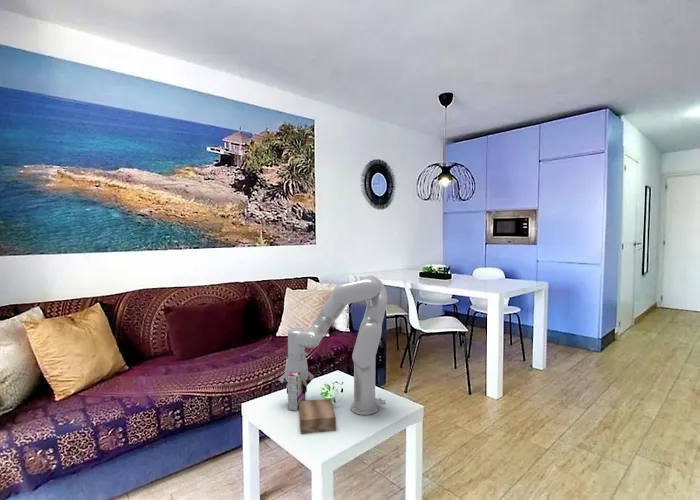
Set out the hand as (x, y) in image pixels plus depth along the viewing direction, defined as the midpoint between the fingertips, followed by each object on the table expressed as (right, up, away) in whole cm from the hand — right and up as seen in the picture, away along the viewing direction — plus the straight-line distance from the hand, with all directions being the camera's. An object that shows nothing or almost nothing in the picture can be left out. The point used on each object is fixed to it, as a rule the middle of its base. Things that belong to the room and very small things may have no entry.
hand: (296, 394), depth 170 cm
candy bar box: (0, -5, 0) cm, 5 cm away
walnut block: (+10, -7, -14) cm, 19 cm away
